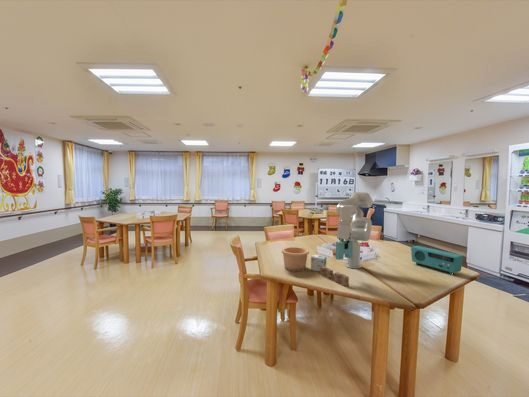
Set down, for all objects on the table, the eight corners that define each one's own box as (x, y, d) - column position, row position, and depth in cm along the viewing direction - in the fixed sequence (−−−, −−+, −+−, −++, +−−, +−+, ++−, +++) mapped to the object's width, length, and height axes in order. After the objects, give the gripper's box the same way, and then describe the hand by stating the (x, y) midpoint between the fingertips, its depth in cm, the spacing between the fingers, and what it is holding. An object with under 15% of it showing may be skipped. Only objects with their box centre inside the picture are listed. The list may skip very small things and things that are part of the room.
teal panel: (338, 259, 167) (339, 242, 167) (335, 258, 170) (335, 241, 170) (352, 257, 174) (352, 240, 174) (349, 256, 177) (349, 240, 177)
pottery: (306, 274, 180) (306, 255, 179) (278, 270, 187) (278, 252, 186) (310, 265, 200) (310, 248, 199) (284, 262, 207) (285, 245, 207)
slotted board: (320, 274, 178) (320, 266, 178) (323, 274, 180) (323, 266, 179) (345, 286, 157) (345, 277, 157) (348, 285, 159) (348, 276, 159)
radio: (409, 263, 205) (410, 246, 205) (416, 262, 210) (417, 245, 209) (455, 277, 175) (456, 257, 174) (462, 275, 180) (463, 255, 179)
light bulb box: (326, 269, 189) (326, 256, 188) (324, 272, 183) (324, 258, 182) (313, 267, 194) (313, 254, 194) (310, 270, 188) (310, 256, 188)
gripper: (332, 221, 177) (332, 246, 177) (350, 224, 162) (349, 251, 163) (339, 221, 180) (339, 245, 181) (358, 224, 166) (357, 250, 167)
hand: (344, 248), depth 172 cm, fingers closed on teal panel, 3 cm apart
